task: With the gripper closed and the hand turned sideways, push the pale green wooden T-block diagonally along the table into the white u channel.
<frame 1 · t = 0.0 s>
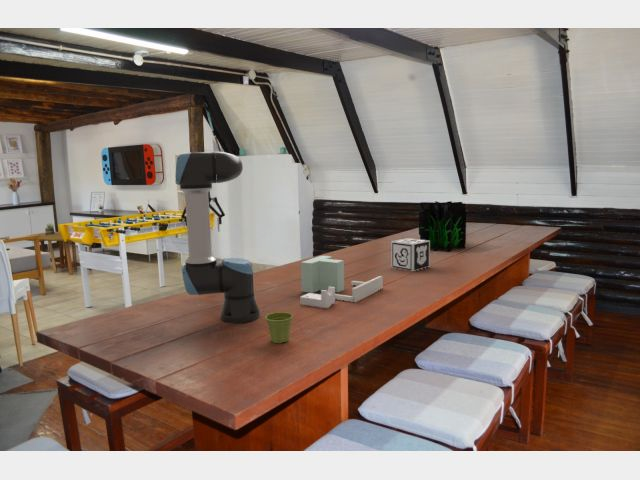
hand: (204, 232, 239), 28 cm above the table, tool pointing down, fingers open, 13 cm apart
white u channel: (346, 291, 231), on the table
bracket: (317, 305, 213), on the table
decorative plant: (442, 247, 337), on the table
plant pot: (280, 341, 171), on the table
t block: (326, 289, 237), on the table
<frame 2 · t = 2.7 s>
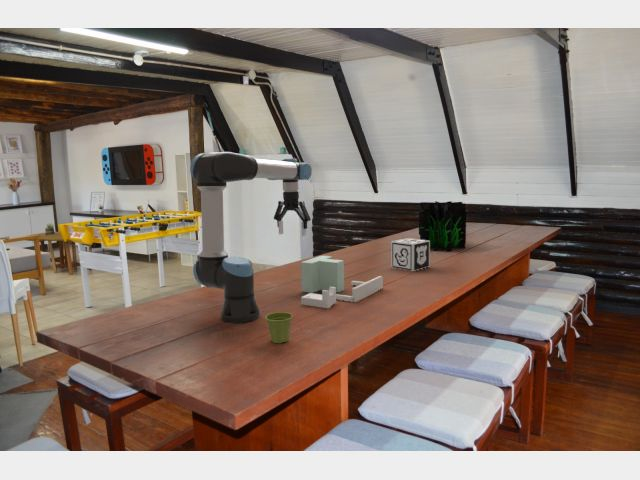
hand: (292, 234, 243), 25 cm above the table, tool pointing down, fingers open, 13 cm apart
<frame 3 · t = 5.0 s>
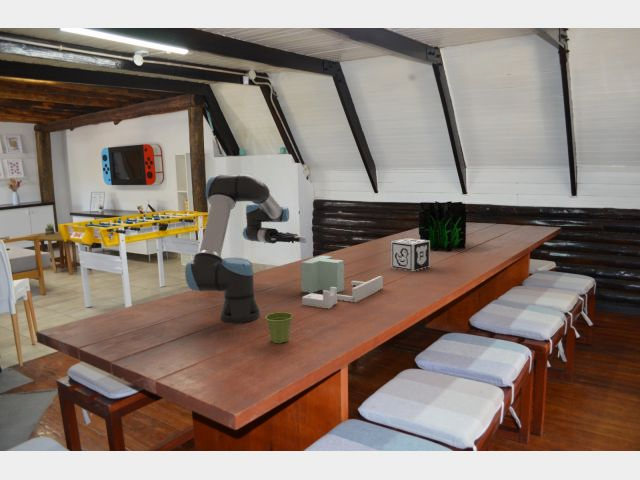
hand: (305, 239, 239), 23 cm above the table, tool horizontal, fingers closed
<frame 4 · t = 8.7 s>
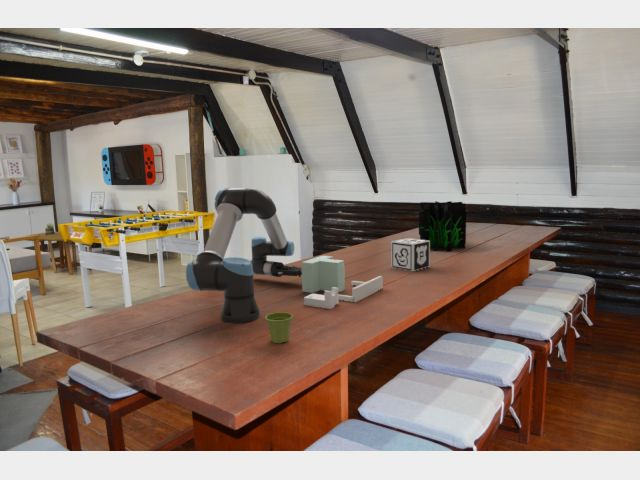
hand: (313, 273, 241), 6 cm above the table, tool horizontal, fingers closed
t block: (327, 289, 237), on the table, touching gripper
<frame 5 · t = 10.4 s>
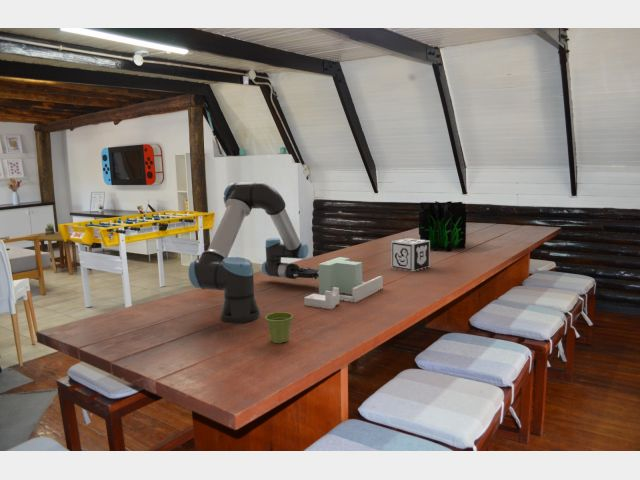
hand: (329, 275, 236), 6 cm above the table, tool horizontal, fingers closed
t block: (344, 291, 232), on the table, touching gripper
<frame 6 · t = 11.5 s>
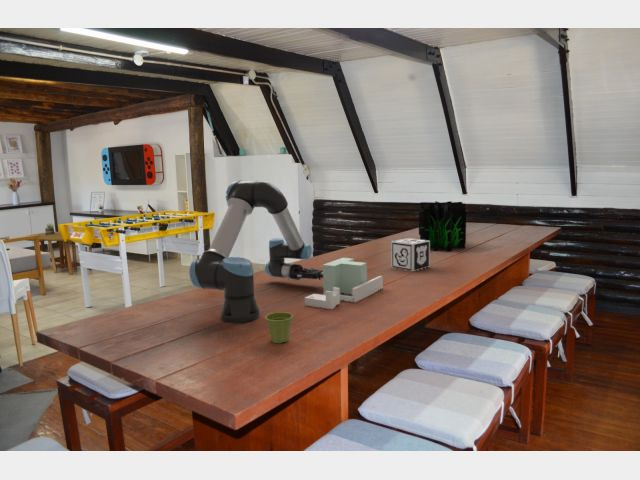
hand: (333, 276, 234), 6 cm above the table, tool horizontal, fingers closed
t block: (348, 292, 230), on the table, touching gripper
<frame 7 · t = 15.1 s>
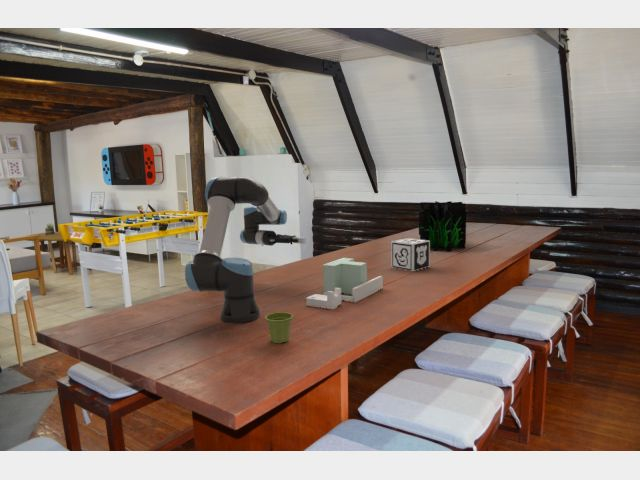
hand: (304, 240, 240), 22 cm above the table, tool horizontal, fingers closed
t block: (348, 292, 230), on the table
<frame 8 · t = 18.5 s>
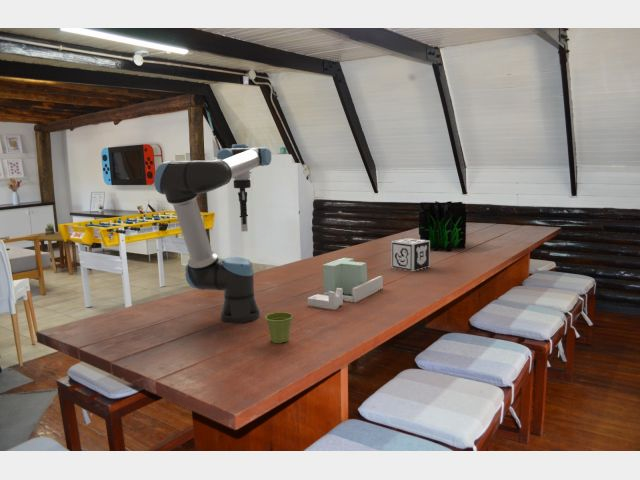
hand: (244, 231, 228), 29 cm above the table, tool pointing down, fingers closed
at the end: t block inside the target area on the white u channel (1.3 cm from its centre), point 0.0 cm above the white u channel's base; t block tilted 0° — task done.
